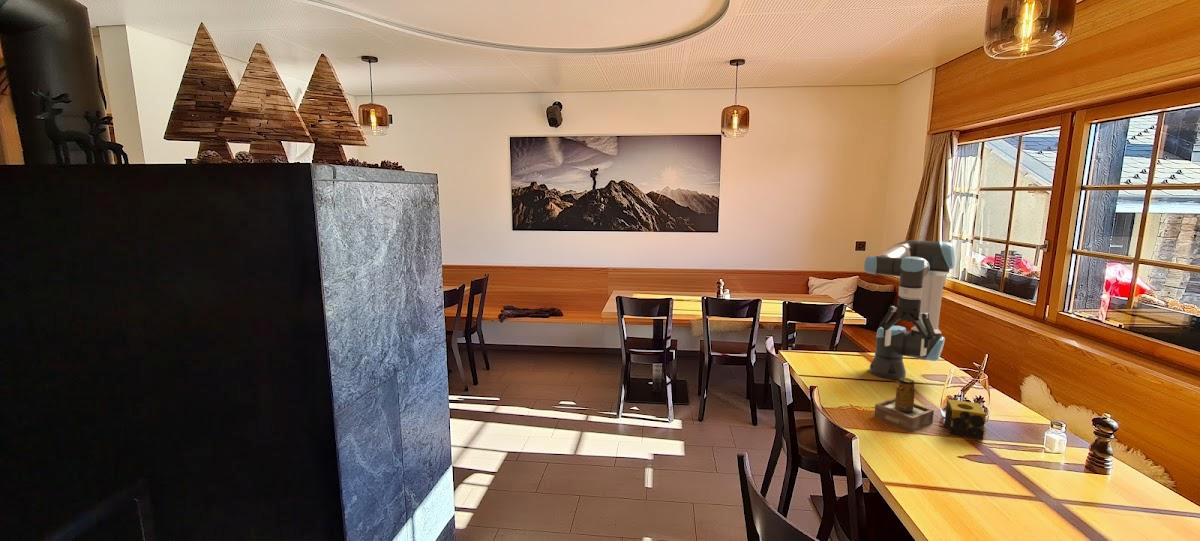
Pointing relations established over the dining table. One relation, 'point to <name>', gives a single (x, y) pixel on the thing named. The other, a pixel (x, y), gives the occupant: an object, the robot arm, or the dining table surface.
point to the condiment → (905, 397)
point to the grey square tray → (903, 415)
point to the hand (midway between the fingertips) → (904, 350)
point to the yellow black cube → (965, 419)
